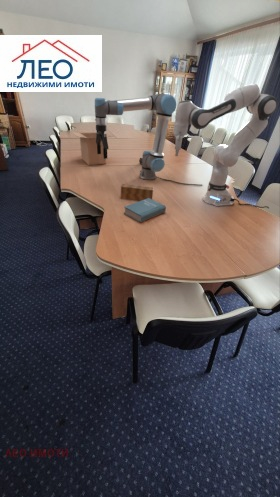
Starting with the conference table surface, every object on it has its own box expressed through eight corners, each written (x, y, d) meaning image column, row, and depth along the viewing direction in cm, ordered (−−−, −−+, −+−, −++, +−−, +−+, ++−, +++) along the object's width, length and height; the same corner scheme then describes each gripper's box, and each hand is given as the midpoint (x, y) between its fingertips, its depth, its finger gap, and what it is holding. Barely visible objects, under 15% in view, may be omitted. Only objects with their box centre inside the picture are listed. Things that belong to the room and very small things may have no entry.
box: (116, 165, 229) (116, 136, 213) (83, 168, 214) (80, 137, 198) (102, 154, 259) (101, 128, 243) (71, 156, 244) (68, 129, 228)
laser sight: (158, 167, 233) (159, 157, 227) (138, 164, 236) (138, 154, 230) (160, 164, 241) (161, 155, 235) (140, 162, 244) (140, 152, 238)
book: (148, 204, 158) (148, 197, 155) (165, 212, 149) (166, 206, 146) (124, 213, 145) (124, 206, 142) (141, 223, 136) (141, 216, 133)
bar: (120, 198, 165) (121, 186, 159) (122, 195, 169) (122, 183, 163) (151, 202, 162) (152, 190, 157) (152, 199, 167) (153, 187, 161)
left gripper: (90, 121, 162) (92, 152, 175) (102, 127, 145) (103, 161, 157) (100, 121, 165) (101, 151, 178) (112, 127, 148) (113, 160, 160)
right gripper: (185, 134, 130) (181, 158, 139) (185, 129, 147) (181, 151, 155) (174, 133, 131) (171, 157, 139) (175, 128, 147) (172, 150, 155)
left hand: (102, 156), depth 168 cm, fingers open, 13 cm apart
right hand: (176, 154), depth 147 cm, fingers open, 8 cm apart
